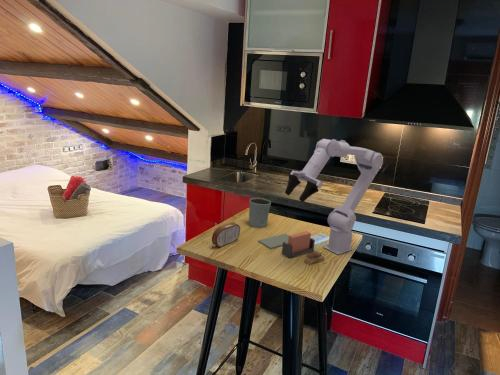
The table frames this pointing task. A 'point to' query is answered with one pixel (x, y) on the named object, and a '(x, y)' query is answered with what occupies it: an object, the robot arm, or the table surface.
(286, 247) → the rack
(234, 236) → the tin
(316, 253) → the offcut stack
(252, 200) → the grey cylindrical pot
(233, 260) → the table surface
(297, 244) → the salmon pink rectangular block
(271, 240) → the mat
